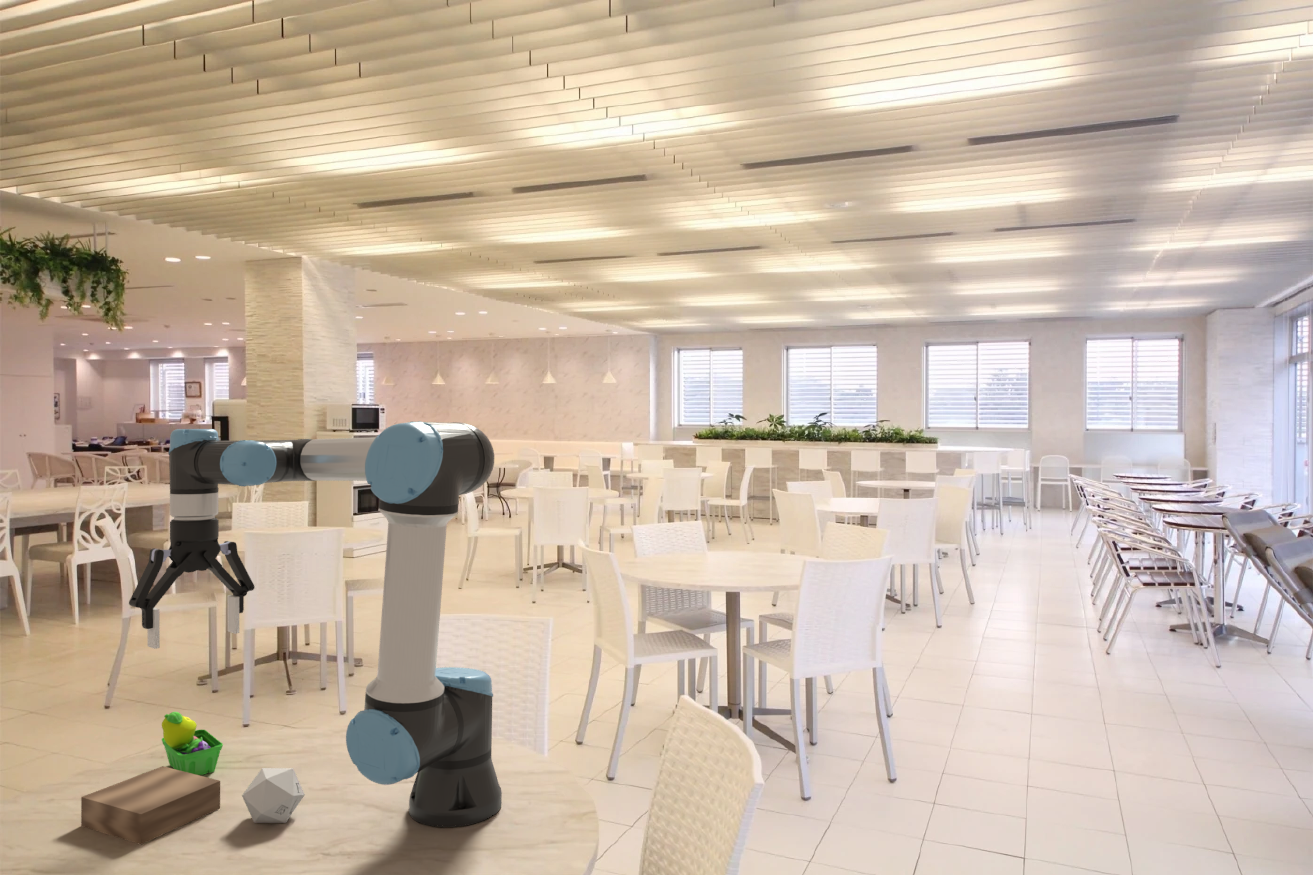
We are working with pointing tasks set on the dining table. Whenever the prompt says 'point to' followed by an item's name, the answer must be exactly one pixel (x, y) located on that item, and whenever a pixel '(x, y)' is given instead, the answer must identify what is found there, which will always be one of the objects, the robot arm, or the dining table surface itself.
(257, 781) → the die
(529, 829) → the dining table surface
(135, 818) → the walnut block
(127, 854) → the dining table surface
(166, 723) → the fruit basket
